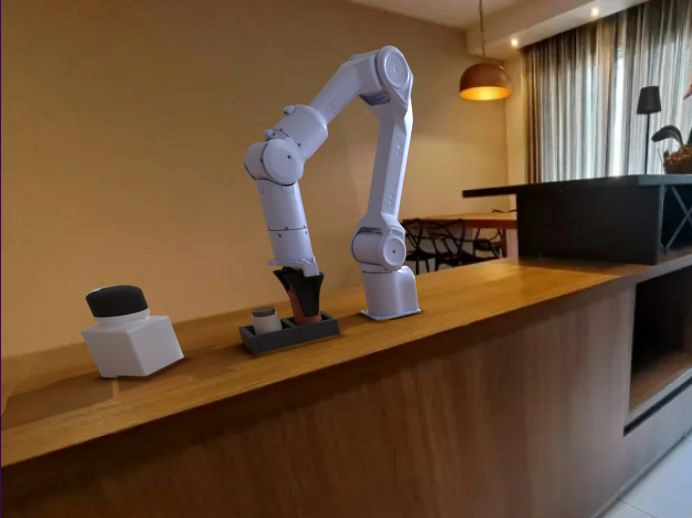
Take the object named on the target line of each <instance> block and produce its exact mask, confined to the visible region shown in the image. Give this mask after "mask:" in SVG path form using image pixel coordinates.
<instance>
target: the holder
mask: <svg viewBox="0 0 692 518" xmlns="http://www.w3.org/2000/svg"><path fill="white" fill-rule="evenodd" d="M320 313H321V318H322V321H319V322H314V323H309V324H305V325H300V326H296V324H295V320H294V315H293V316H286V317H282V318H280V320H281V324H282V328H283V329H282V330H277V331H273V332H268V333H263V334H259V335H256V333H255V330H254V326H253V323H252V324H249V325H248V324H247V325H242V326H238V331H239V335H240V339H241V341H242V343H243V344H244V345H245V346H246V347H247V349H248V350H250V351H251V352H252V354H254V355H256V354H260V353H264V352H269V351H272V350H276V349H281V348H285V347H290V346H294V345H298V344H302V343H306V342H310V341H315V340H319V339H323V338H327V337H332V336H335V335H340V334H341V331H340V325H339V320H338V318H337V317H335V316H333V315H331V314H329V313H328V312H325V311H323V310H320Z"/></svg>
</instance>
